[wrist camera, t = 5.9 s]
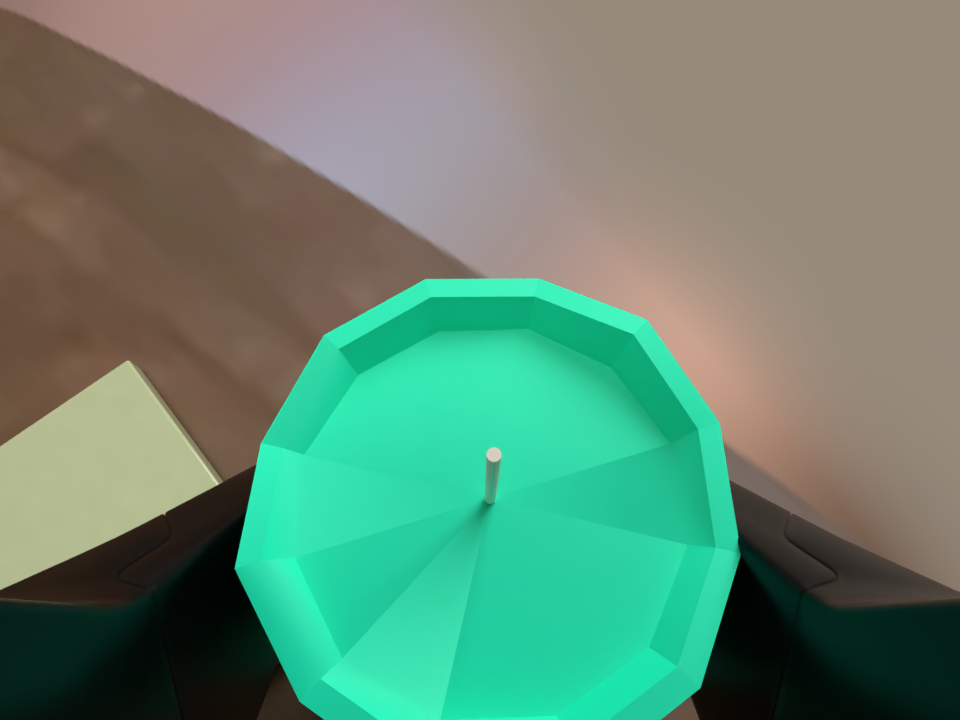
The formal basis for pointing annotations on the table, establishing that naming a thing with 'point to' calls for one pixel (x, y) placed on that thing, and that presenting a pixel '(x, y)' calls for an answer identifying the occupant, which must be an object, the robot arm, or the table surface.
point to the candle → (491, 513)
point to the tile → (93, 473)
